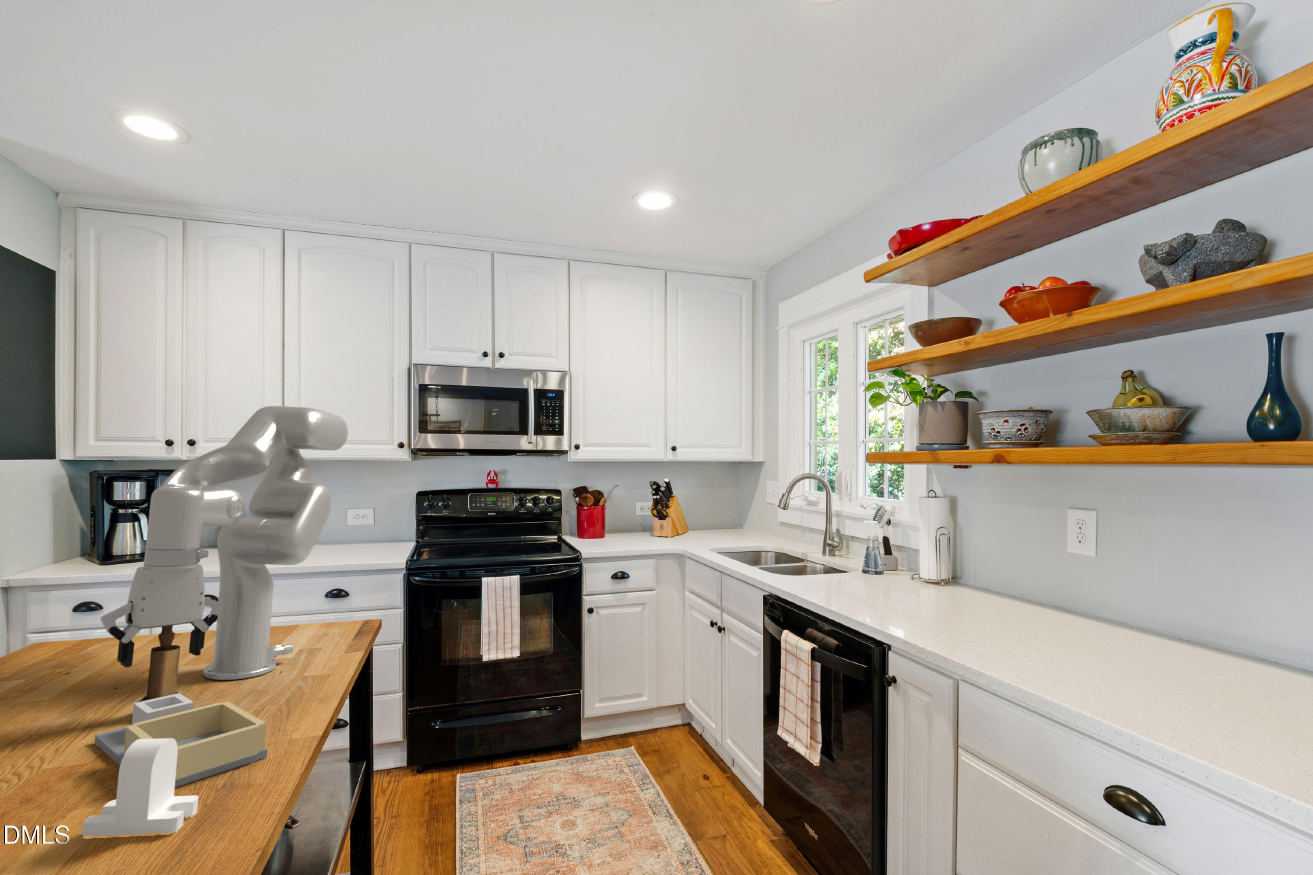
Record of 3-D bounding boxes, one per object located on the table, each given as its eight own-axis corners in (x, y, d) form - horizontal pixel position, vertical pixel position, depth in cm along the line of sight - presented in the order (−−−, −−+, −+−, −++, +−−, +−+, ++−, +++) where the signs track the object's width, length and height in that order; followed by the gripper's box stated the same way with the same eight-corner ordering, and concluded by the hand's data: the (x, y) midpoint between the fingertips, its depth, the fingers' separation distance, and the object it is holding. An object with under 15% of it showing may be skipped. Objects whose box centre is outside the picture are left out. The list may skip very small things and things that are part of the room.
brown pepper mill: (192, 710, 109) (201, 606, 110) (152, 723, 103) (161, 613, 104) (166, 704, 111) (175, 601, 112) (125, 717, 105) (135, 608, 106)
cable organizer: (174, 835, 74) (181, 748, 74) (78, 840, 72) (87, 751, 72) (199, 811, 79) (206, 730, 79) (110, 814, 77) (117, 732, 78)
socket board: (201, 715, 107) (203, 684, 107) (268, 758, 93) (271, 722, 93) (94, 742, 95) (97, 708, 96) (152, 796, 82) (156, 755, 82)
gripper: (219, 553, 117) (210, 646, 116) (100, 559, 103) (88, 665, 102) (237, 557, 113) (228, 654, 112) (115, 564, 99) (103, 675, 98)
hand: (161, 659), depth 107 cm, fingers open, 9 cm apart
